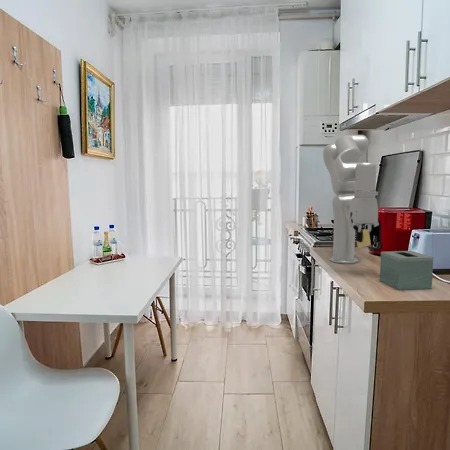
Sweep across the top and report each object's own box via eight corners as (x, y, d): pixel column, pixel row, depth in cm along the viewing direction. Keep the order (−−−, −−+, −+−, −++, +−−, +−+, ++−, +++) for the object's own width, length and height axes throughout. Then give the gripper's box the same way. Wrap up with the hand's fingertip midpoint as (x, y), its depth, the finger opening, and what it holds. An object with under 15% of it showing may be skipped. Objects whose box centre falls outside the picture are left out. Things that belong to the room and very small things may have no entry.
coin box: (379, 280, 131) (380, 251, 130) (410, 279, 132) (411, 250, 131) (398, 290, 119) (399, 258, 118) (431, 288, 120) (433, 257, 119)
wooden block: (357, 247, 139) (355, 232, 141) (363, 247, 139) (361, 232, 141) (364, 244, 133) (362, 229, 135) (370, 244, 134) (368, 229, 135)
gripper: (379, 194, 139) (376, 239, 142) (340, 194, 138) (339, 240, 141) (389, 195, 132) (386, 242, 135) (349, 195, 131) (347, 244, 133)
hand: (362, 241), depth 138 cm, fingers closed on wooden block, 2 cm apart
